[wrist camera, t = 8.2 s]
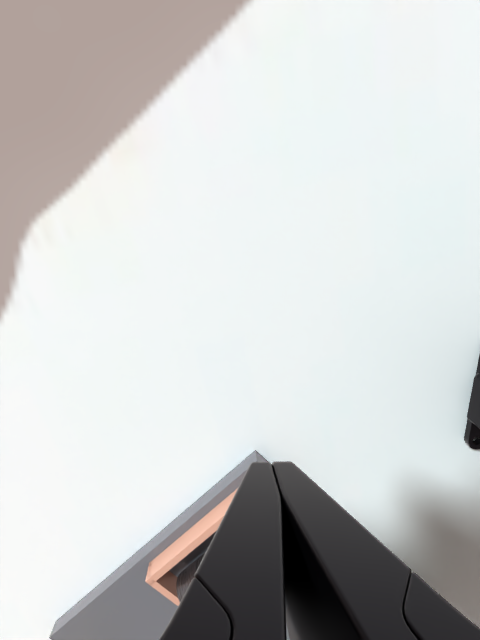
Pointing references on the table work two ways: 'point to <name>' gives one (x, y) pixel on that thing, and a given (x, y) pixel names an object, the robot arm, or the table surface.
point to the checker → (152, 574)
